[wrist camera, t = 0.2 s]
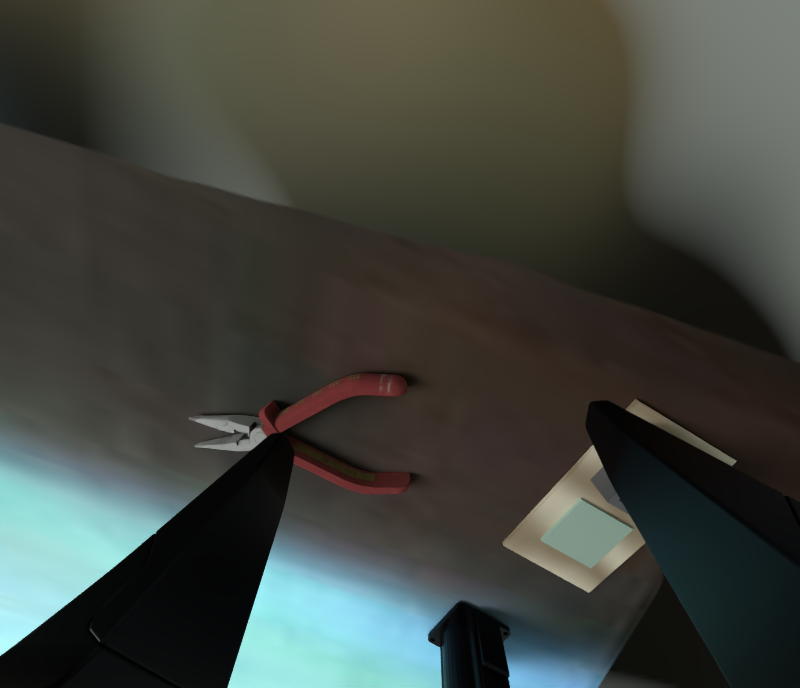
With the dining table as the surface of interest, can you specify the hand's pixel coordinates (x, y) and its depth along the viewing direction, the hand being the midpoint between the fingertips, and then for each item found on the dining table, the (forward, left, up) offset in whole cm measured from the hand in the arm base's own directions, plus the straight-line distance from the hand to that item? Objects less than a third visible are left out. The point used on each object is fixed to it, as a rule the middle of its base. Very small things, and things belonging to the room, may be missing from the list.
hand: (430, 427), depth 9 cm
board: (-5, -23, -15) cm, 28 cm away
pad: (-9, -23, -15) cm, 29 cm away
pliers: (-12, +4, -16) cm, 21 cm away
